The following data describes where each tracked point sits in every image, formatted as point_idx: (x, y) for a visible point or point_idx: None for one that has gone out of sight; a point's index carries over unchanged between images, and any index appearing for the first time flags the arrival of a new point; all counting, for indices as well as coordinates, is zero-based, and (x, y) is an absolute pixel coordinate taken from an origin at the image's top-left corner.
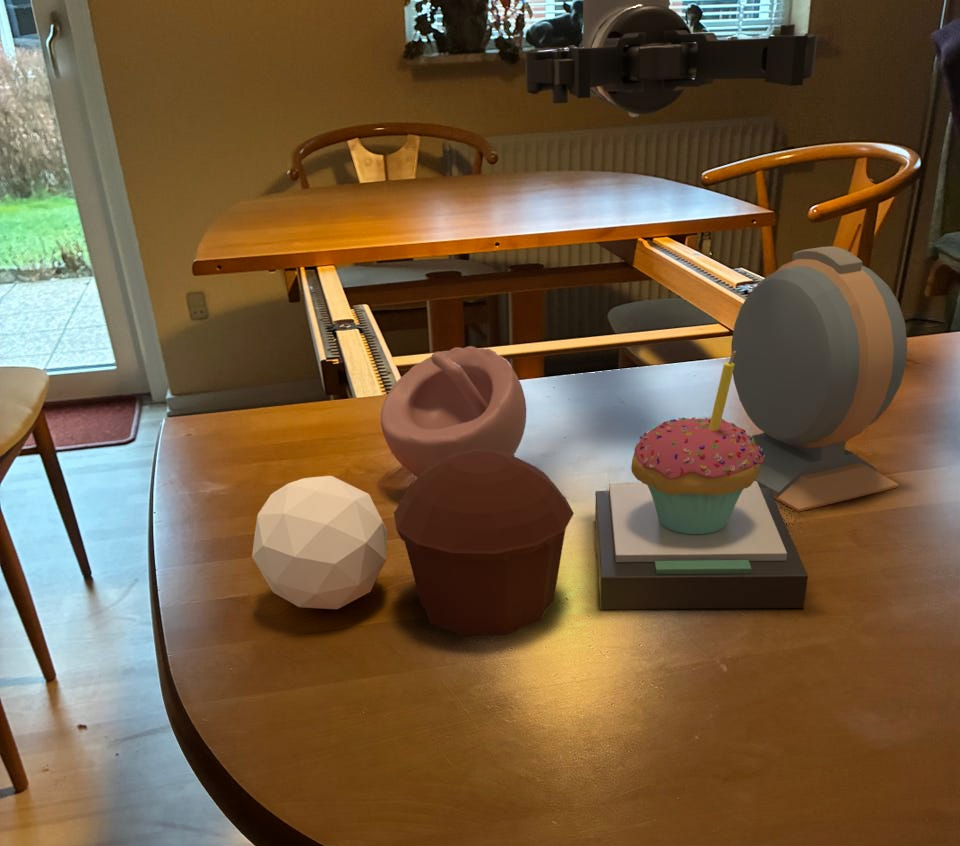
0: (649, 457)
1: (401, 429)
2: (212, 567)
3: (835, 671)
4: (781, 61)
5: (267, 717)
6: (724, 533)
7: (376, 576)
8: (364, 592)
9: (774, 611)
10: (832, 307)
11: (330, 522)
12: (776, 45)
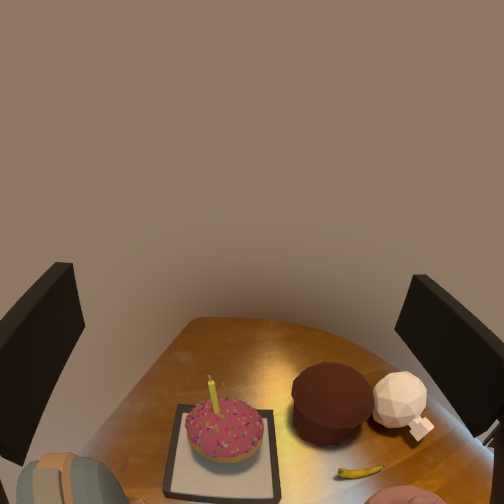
0: (255, 411)
1: (426, 495)
2: (445, 428)
3: (183, 378)
4: (48, 344)
5: (366, 363)
6: None
7: None
8: None
9: None
10: (86, 462)
11: (389, 374)
12: (17, 353)
